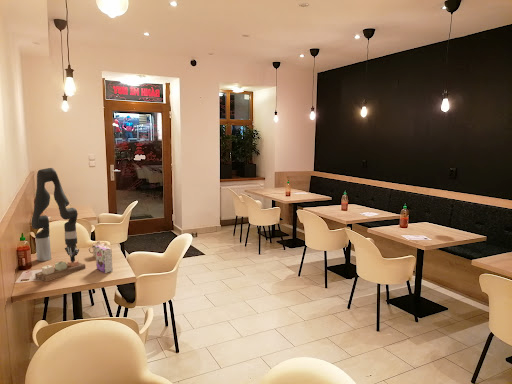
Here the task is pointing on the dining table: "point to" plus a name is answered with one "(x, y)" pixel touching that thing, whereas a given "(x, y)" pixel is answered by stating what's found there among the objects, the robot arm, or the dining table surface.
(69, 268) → the key block
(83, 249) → the dining table surface
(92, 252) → the teacup with lid
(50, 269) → the key one
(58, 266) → the key two
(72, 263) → the key three
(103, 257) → the candy box
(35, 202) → the robot arm
